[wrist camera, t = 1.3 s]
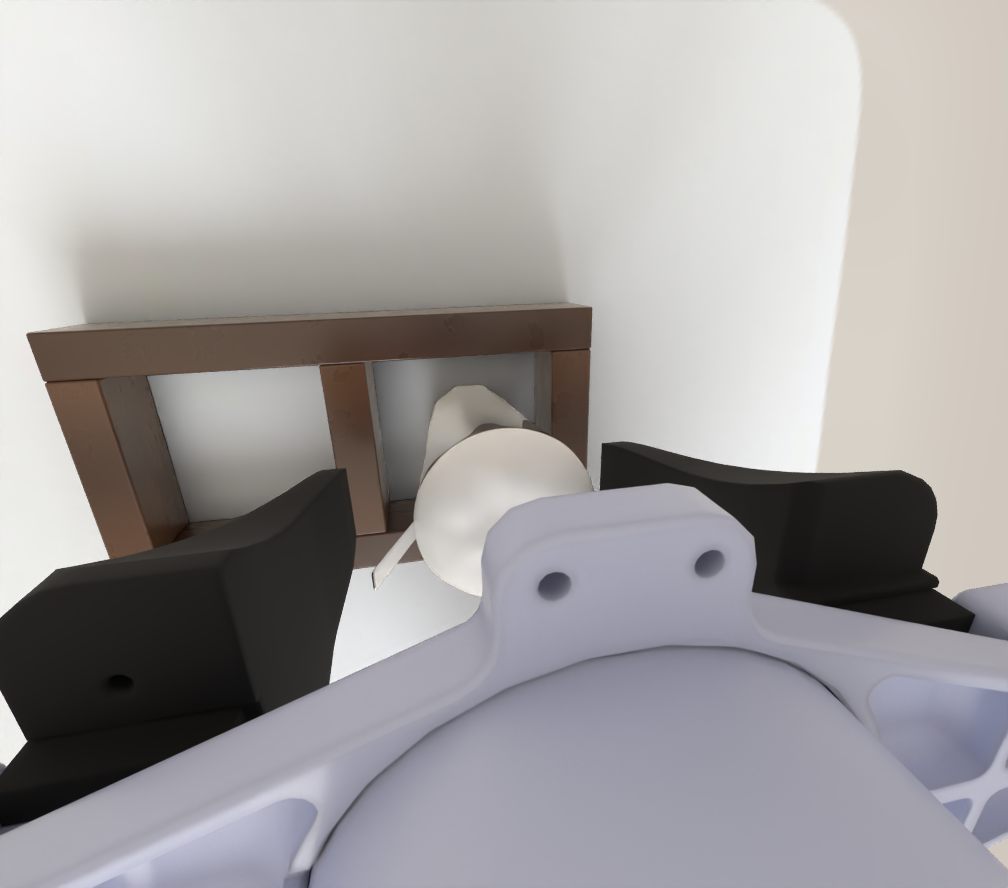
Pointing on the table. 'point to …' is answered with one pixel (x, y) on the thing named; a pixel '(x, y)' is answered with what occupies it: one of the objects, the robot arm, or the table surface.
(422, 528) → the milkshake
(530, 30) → the table surface
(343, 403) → the rack
